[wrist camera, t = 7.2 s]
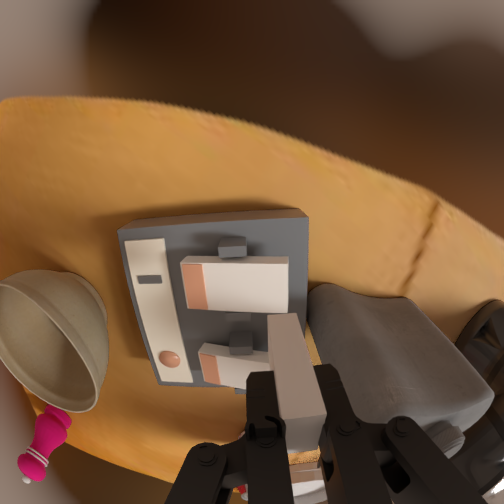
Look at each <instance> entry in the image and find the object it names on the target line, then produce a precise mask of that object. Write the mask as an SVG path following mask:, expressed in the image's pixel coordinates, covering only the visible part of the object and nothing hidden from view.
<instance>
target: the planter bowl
mask: <svg viewBox="0 0 504 504" xmlns="http://www.w3.org/2000/svg"><path fill="white" fill-rule="evenodd" d="M0 358H1V360H2V361H3V363H4V364H5V366H6V367H7V368H8V369H9V371H10V372H11V373H12V374H13V375H14V377H15V378H16V379H17V380H18V381H19V382H20V383H21V384H22V385H24V386H25V387H26V388H27V389H28V390H29V391H31V392H32V393H33V394H35V395H36V396H37V397H39V398H40V399H42V400H43V401H45V402H47V403H49V404H51V405H53V406H55V407H57V408H60V409H62V410H65V411H69V412H75V413H82V412H87V411H89V410H91V409H92V408H93V407H94V406H95V405H96V403H97V400H98V398H99V394H100V388H101V386H102V384H103V381H104V378H105V375H106V371H107V366H108V358H109V339H108V331H107V312H106V308H105V306H104V303H103V301H102V299H101V297H100V296H99V294H98V293H97V291H96V290H95V289H94V288H93V287H92V285H91V284H90V283H89V282H87V281H86V280H85V279H83V278H82V277H80V276H78V275H76V274H74V273H70V272H56V271H52V270H44V269H35V270H26V271H22V272H18V273H16V274H13V275H11V276H9V277H7V278H5V279H4V280H1V281H0Z"/></svg>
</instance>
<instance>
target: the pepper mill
mask: <svg viewBox="0 0 504 504" xmlns="http://www.w3.org/2000/svg"><path fill="white" fill-rule="evenodd" d="M44 411H45V413H44V414H40V415H38V417H37V419H36V423H35V435H34V439H33V442H32V444H31V445H30V447H27V449H26V450H25V452H26V454H21V455H20V456H19V457H18V467H19V469H20V470H21V471H22V473H23V474H24V475H23V476H22V479H23V481H24V482H25V483H30V481H31V480H30V479H32V480H34V481H42V480H43V479H44V478H45V476H46V471H45V467H46V466H47V463H48V457H49V455H50V453H51V452H52V450H54V449H55V448H56V447H58V446H59V445H61V444H62V443H63V442H64V441H65V440H66V438H67V431H66V429H68V428H69V427H70V425H71V419H70V417H69V416H68V415H67V414H66V413H65V412H64V411H63V410H61V409H60V408H57V407H55V406H53V405H51V404H48V405H47V407H46V408H45V410H44Z"/></svg>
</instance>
